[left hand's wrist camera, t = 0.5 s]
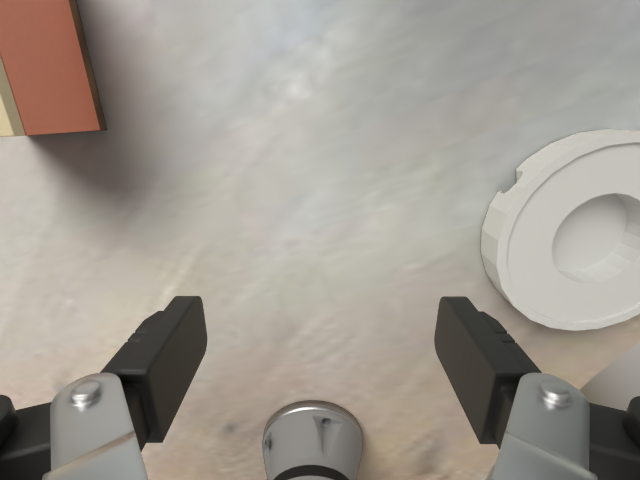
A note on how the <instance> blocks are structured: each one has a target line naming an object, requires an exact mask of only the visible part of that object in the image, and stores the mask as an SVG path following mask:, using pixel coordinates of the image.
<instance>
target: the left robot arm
mask: <svg viewBox="0 0 640 480" xmlns="http://www.w3.org/2000/svg"><path fill="white" fill-rule="evenodd" d="M206 347H207V331H206V324H205V317H204V310H203V303H202V299H201V297H200V296H176V297H174V299H173V300H172V301H171V302H170V304H169V305H168V306H167V307H166V309H165V310H164V311H158V312H156V313H155V314H153V315H152V316H150V317H149V318H147V319H145V320H144V321H143V322H142V324H141V325H140V326H139V327H138V328H137V330H136V331H135V333H133V334H132V335H131V337H130V338H129V339H128V342H126V343H125V344H124V345H123V346H122V347H121V348H120V350H119V351H118V352H117V353H116V354H115V356H114V357H113V358H112V359H111V360H110V361H109V363H108V364H107V365H106V366H105V367H104V369H103V370H102V371H101V372H100V373H96V374H92V375H88V376H85V377H83V378H80V379H78V380H76V381H74V382H72V383H71V384H69V385H68V386H66V387H65V388H63V389H62V390H61V391H60V392H59V393H58V394H57V395H56V396H55V398H54V399H53V401H52V402H50V403H46V404H41V405H37V406H32V407H28V408H24V409H19V410H15V408H14V406H13V404H12V401H11V399H10V398H9V397H7V396H5V395H0V480H148V476H147V473H146V469H145V466H144V462H143V458H142V455H141V451H142V449H143V447H144V446H145V444H146V443H162V442H163V440H164V438H165V436H166V434H167V432H168V430H169V428H170V426H171V424H172V421H173V419H174V417H175V415H176V413H177V411H178V409H179V407H180V405H181V403H182V400H183V398H184V396H185V394H186V392H187V390H188V388H189V386H190V384H191V382H192V380H193V377H194V375H195V373H196V371H197V369H198V367H199V365H200V363H201V361H202V359H203V356H204V354H205V351H206ZM435 349H436V353H437V355H438V358H439V360H440V362H441V364H442V366H443V368H444V370H445V372H446V374H447V376H448V378H449V380H450V382H451V385H452V387H453V389H454V391H455V393H456V395H457V397H458V399H459V401H460V403H461V405H462V407H463V409H464V412H465V414H466V416H467V418H468V420H469V422H470V424H471V426H472V428H473V430H474V432H475V434H476V436H477V438H478V441H479V443H480V444H497V445H498V447H499V449H500V451H499V455H498V458H497V462H496V466H495V469H494V473H493V476H492V480H640V396H638V397H635V398H633V399H632V400H631V401H630V404H629V406H628V408H627V411H622V410H618V409H614V408H609V407H605V406H601V405H596V404H592V403H589V402H588V401H587V399H586V398H585V396H584V395H583V394H582V393H581V392H580V391H579V390H578V389H577V388H575V387H574V386H572V385H571V384H569V383H568V382H566V381H564V380H562V379H560V378H557V377H555V376H552V375H548V374H544V373H542V372H541V371H540V370H539V369H538V367H537V366H536V365H535V364H534V363H533V362H532V360H531V359H530V358H529V357H528V356H527V355H526V353H525V352H524V351H523V350H522V349H521V348H520V346H519V345H518V344H517V343H515V340H514V339H513V338H512V337H511V336H510V335H509V334H507V331H506V330H505V329H504V328H503V326H502V325H501V324H500V323H499V322H498V321H497V320H496V319H494V318H493V317H491V316H490V315H488V314H486V313H485V312H478V310H477V309H476V308H475V307H474V305H473V304H472V303H471V302H470V300H469V299H468V298H467V297H442V298H441V299H440V303H439V309H438V316H437V323H436V330H435Z"/></svg>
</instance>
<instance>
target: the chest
mask: <svg viewBox="0 0 640 480" xmlns="http://www.w3.org/2000/svg"><path fill="white" fill-rule="evenodd" d="M0 57H1V60H2V63H3V66H4V69H5V72H6V75H7V79H8V82H9V85H10V88H11V91H12V94H13V97H14V101H15V104H16V107H17V110H18V113H19V116H20V119H21V122H22V126H23V129H24V132H25V135H39V134H53V133H67V132H80V131H94V130H107V129H106V125H105V120H104V116H103V112H102V108H101V104H100V99H99V95H98V91H97V87H96V83H95V78H94V74H93V70H92V66H91V62H90V57H89V53H88V49H87V45H86V41H85V36H84V32H83V28H82V24H81V20H80V15H79V11H78V7H77V3H76V0H0Z"/></svg>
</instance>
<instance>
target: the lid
mask: <svg viewBox="0 0 640 480" xmlns="http://www.w3.org/2000/svg"><path fill="white" fill-rule="evenodd" d="M24 135H25V132H24V129H23V126H22V122H21V119H20V116H19V113H18V110H17V107H16V104H15V101H14V97H13V94H12V91H11V88H10V85H9V82H8V79H7V75H6V72H5V69H4V66H3V63H2V60H1V57H0V137H7V136H24Z"/></svg>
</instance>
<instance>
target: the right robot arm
mask: <svg viewBox="0 0 640 480" xmlns="http://www.w3.org/2000/svg"><path fill="white" fill-rule="evenodd" d="M262 447H263V456H264V462H265V468H266V474H267V480H357V475H358V470H359V466H360V461H361V456H362V449H363V442H362V434H361V429H360V426H359V424H358V422H357V421H356V419H355V418H354V417H353V416H352V415H351V414H350V413H349V412H348V411H346V410H345V409H343V408H341V407H339V406H337V405H335V404H332V403H328V402H323V401H302V402H297V403H293V404H290V405H288V406H286V407H284V408H282V409H280V410H279V411H277V412H276V413H275V414H274V415H273V416H272V417H271V418H270V420H269V421H268V423H267V425H266V427H265V430H264V436H263V442H262Z"/></svg>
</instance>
